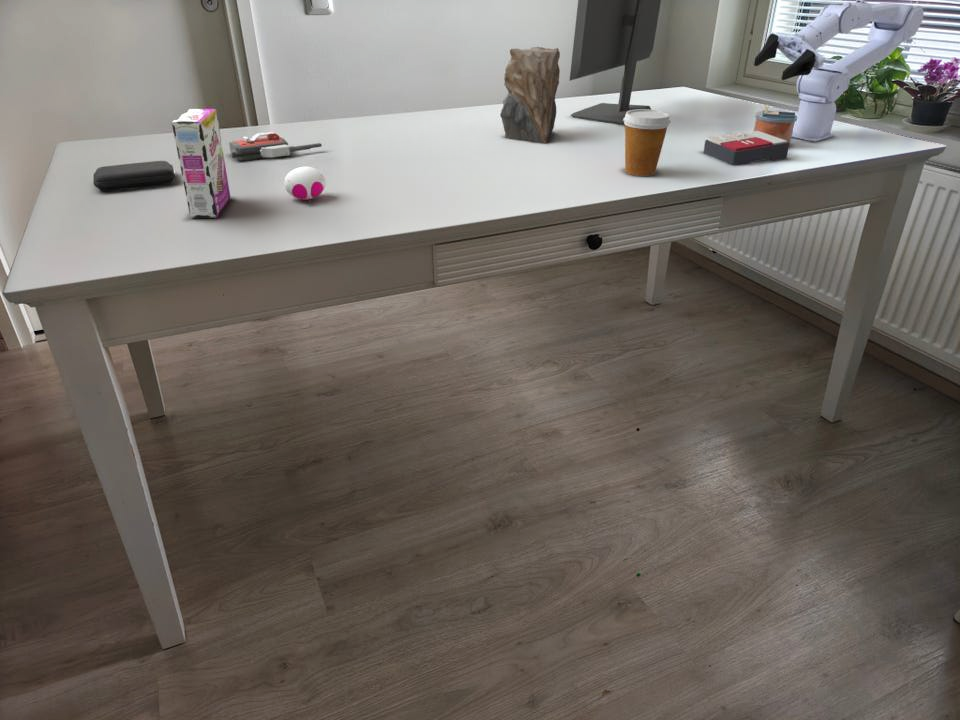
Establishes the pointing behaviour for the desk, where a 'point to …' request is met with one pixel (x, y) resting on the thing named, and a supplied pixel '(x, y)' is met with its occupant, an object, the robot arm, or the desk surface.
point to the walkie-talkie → (264, 147)
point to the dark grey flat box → (746, 147)
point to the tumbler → (776, 124)
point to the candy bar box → (202, 162)
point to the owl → (531, 94)
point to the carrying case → (134, 175)
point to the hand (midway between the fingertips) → (769, 69)
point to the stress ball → (305, 183)
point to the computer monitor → (613, 48)
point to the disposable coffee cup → (644, 140)
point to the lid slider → (770, 111)
